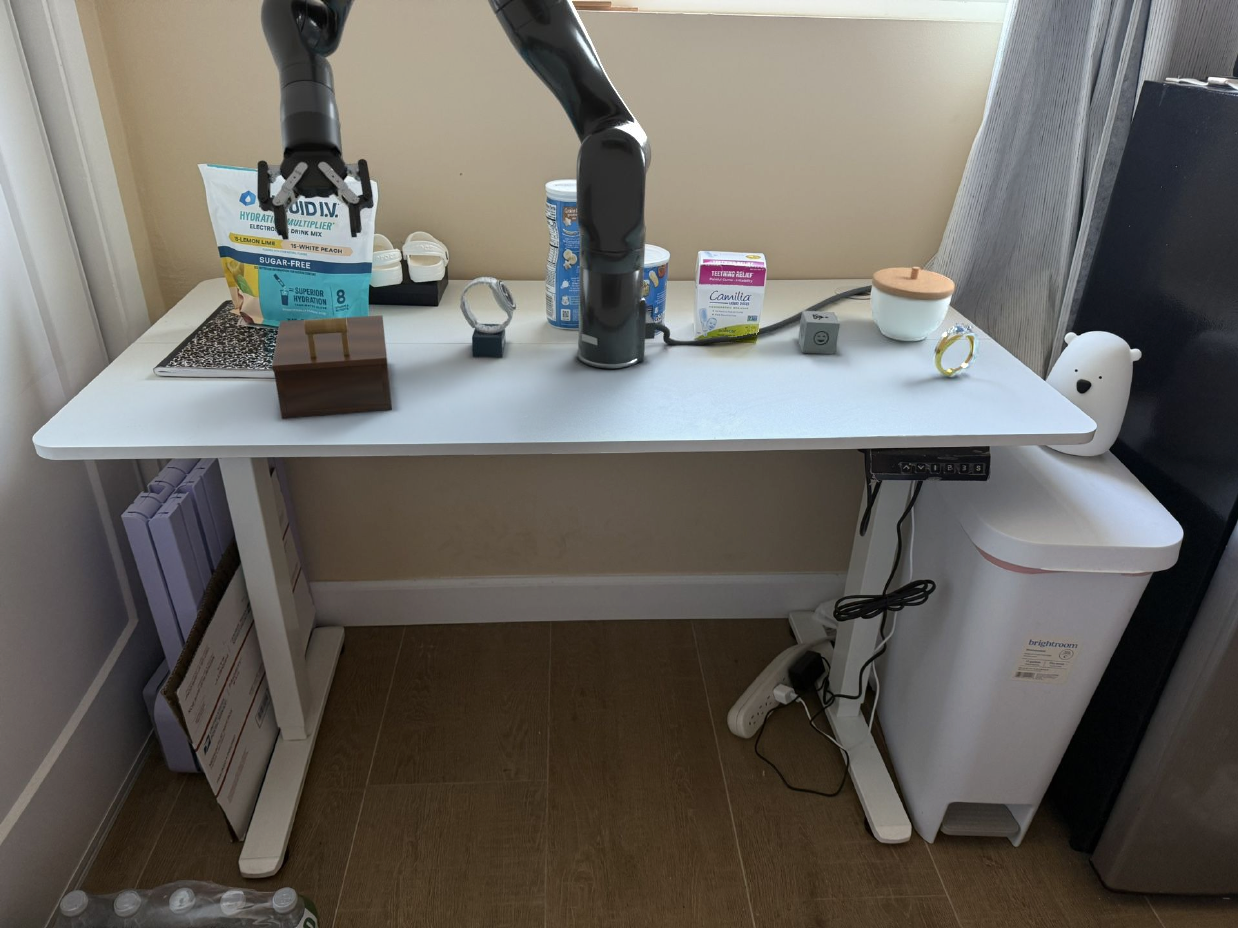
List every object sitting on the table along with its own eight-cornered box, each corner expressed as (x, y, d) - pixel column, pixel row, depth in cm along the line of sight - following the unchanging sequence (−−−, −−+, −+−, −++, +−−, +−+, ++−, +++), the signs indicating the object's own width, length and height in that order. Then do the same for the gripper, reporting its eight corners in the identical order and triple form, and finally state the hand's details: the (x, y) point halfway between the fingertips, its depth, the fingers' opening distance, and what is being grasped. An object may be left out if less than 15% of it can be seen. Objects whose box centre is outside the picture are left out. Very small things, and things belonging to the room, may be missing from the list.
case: (392, 409, 117) (386, 361, 113) (281, 418, 113) (273, 369, 110) (387, 365, 129) (383, 320, 126) (288, 372, 126) (280, 327, 122)
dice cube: (797, 340, 142) (802, 310, 140) (829, 342, 142) (834, 312, 140) (802, 352, 138) (806, 322, 136) (834, 354, 138) (839, 323, 136)
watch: (515, 357, 133) (513, 286, 127) (461, 356, 133) (456, 284, 127) (518, 343, 138) (516, 273, 132) (466, 342, 137) (462, 272, 132)
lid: (387, 363, 113) (382, 321, 110) (272, 371, 109) (265, 328, 107) (383, 320, 125) (379, 282, 123) (280, 326, 122) (274, 287, 120)
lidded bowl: (863, 342, 143) (875, 275, 137) (863, 316, 153) (874, 252, 148) (945, 352, 140) (961, 283, 135) (940, 324, 151) (954, 260, 146)
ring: (965, 370, 134) (977, 319, 130) (977, 378, 132) (990, 327, 128) (923, 373, 133) (935, 322, 129) (935, 382, 130) (947, 330, 126)
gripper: (248, 109, 114) (256, 222, 110) (363, 108, 118) (375, 218, 114) (259, 144, 121) (266, 252, 117) (367, 143, 125) (378, 248, 121)
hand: (319, 235), depth 116 cm, fingers open, 8 cm apart
